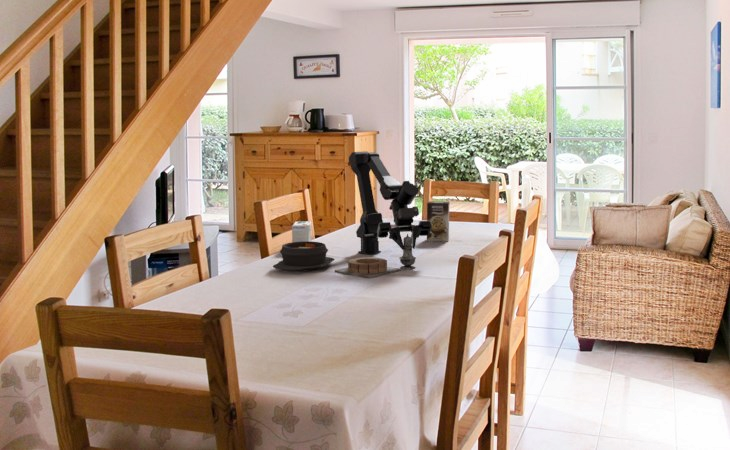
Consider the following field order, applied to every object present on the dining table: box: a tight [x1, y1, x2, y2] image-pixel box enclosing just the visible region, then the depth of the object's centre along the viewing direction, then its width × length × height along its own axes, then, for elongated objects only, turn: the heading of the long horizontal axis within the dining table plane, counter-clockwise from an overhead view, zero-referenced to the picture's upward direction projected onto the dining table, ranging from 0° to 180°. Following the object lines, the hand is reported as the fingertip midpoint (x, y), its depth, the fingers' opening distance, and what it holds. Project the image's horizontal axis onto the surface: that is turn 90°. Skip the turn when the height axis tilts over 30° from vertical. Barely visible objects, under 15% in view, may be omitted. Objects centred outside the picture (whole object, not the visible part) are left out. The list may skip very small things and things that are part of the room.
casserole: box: [272, 241, 335, 272], centre depth 286 cm, size 25×19×8 cm
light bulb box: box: [291, 220, 312, 243], centre depth 321 cm, size 11×7×11 cm, turn 178°
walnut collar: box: [334, 256, 402, 279], centre depth 279 cm, size 16×16×4 cm
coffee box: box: [426, 201, 451, 243], centre depth 339 cm, size 9×6×16 cm
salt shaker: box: [399, 234, 417, 270], centre depth 283 cm, size 6×6×12 cm
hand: (408, 248), depth 281 cm, fingers closed on salt shaker, 4 cm apart
